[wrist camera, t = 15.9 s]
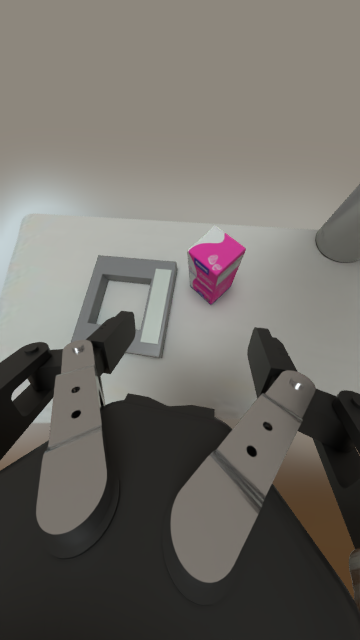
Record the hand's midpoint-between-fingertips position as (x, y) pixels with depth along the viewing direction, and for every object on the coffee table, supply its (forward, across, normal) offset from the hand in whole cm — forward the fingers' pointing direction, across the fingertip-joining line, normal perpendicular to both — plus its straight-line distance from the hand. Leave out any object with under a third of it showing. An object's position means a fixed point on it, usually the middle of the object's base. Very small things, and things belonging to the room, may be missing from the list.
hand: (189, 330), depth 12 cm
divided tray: (+20, +15, +9) cm, 26 cm away
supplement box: (+24, -1, +5) cm, 24 cm away
